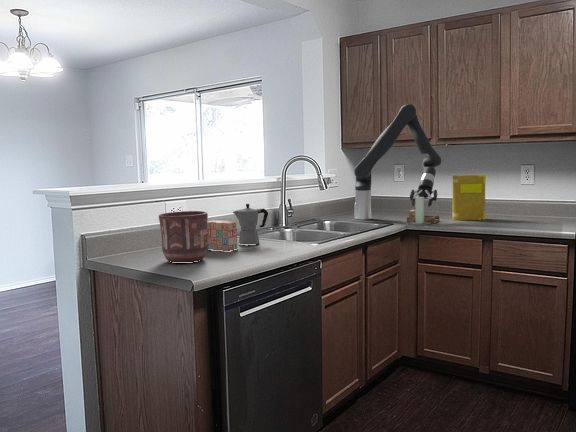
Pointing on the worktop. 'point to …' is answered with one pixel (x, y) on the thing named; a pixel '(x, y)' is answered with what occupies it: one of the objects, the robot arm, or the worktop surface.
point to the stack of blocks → (222, 235)
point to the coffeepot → (249, 224)
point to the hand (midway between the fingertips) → (421, 205)
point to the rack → (426, 219)
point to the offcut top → (412, 213)
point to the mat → (420, 224)
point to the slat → (419, 210)
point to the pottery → (184, 235)
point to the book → (468, 197)
